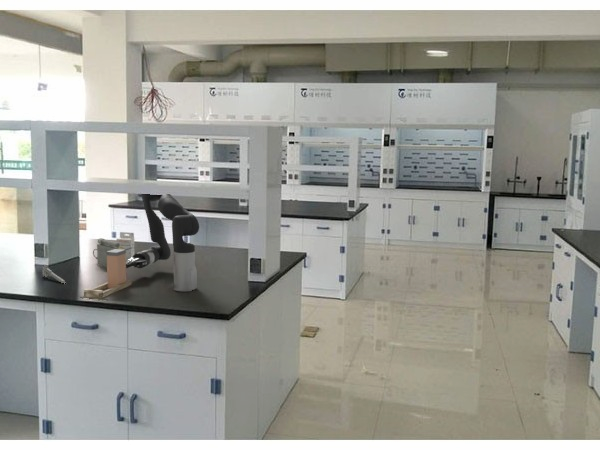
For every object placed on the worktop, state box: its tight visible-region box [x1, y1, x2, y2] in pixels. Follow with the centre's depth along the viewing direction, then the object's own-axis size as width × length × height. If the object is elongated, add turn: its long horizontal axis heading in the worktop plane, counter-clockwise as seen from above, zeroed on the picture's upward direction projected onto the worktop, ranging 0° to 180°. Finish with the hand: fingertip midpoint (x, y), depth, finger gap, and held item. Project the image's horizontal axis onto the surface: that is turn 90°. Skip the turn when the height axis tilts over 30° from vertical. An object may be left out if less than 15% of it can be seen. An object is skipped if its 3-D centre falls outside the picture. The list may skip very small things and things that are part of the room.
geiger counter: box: [92, 237, 121, 268], centre depth 310 cm, size 14×6×25 cm
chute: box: [79, 279, 133, 301], centre depth 259 cm, size 12×24×4 cm, turn 166°
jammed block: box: [106, 249, 127, 289], centre depth 265 cm, size 5×7×16 cm
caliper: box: [42, 264, 67, 285], centre depth 279 cm, size 20×1×6 cm, turn 49°
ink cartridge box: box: [116, 231, 135, 260], centre depth 328 cm, size 9×5×15 cm, turn 84°
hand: (124, 266), depth 271 cm, fingers closed
